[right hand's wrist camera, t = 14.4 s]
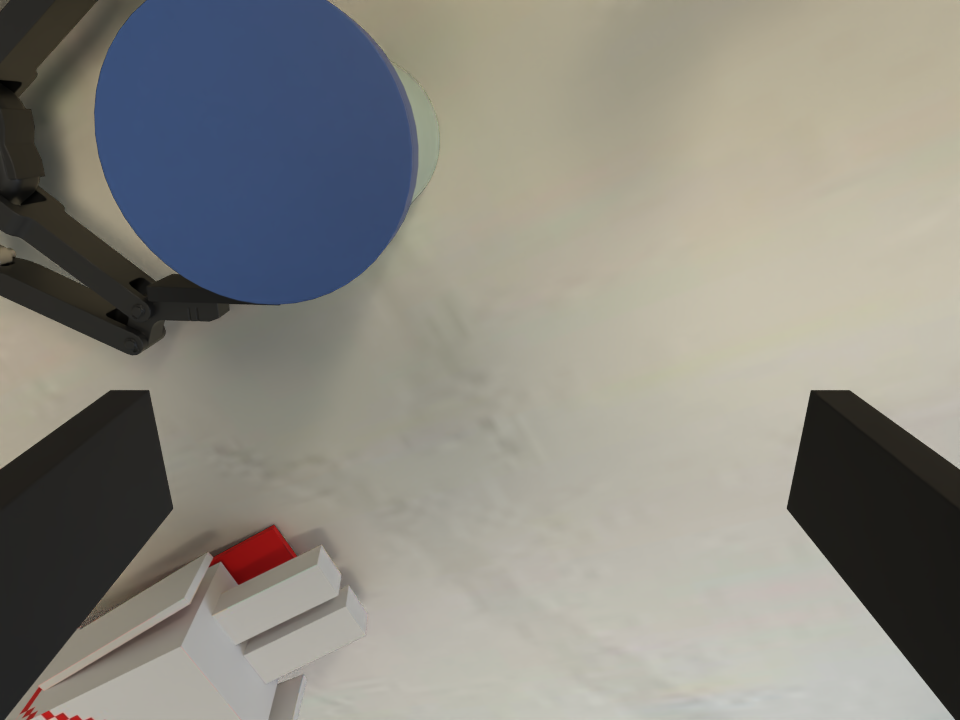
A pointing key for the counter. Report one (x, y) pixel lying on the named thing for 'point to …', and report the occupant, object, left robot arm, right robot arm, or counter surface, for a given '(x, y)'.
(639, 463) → the counter surface
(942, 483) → the right robot arm
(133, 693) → the toy
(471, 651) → the counter surface
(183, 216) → the lid
